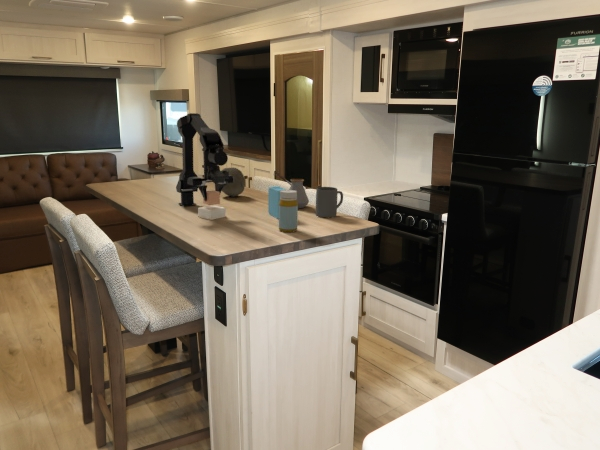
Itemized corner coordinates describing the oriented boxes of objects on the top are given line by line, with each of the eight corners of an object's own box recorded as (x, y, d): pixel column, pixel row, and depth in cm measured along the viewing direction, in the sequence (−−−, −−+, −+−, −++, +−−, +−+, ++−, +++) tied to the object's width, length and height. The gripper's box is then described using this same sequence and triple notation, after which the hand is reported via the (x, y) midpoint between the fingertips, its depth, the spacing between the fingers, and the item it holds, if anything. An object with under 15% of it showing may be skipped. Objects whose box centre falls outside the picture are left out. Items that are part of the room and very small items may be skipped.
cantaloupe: (242, 193, 252) (241, 165, 248) (247, 198, 239) (247, 168, 235) (215, 194, 248) (214, 166, 244) (219, 199, 235) (219, 169, 231)
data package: (288, 218, 197) (288, 190, 194) (278, 219, 195) (278, 190, 192) (277, 212, 208) (278, 185, 205) (268, 213, 206) (268, 186, 203)
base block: (198, 217, 197) (197, 207, 196) (213, 214, 203) (212, 205, 202) (210, 220, 192) (210, 210, 191) (225, 217, 198) (225, 207, 197)
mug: (324, 219, 198) (325, 190, 195) (311, 215, 205) (312, 187, 202) (348, 215, 205) (350, 188, 203) (335, 211, 213) (336, 185, 210)
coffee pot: (313, 207, 221) (314, 175, 218) (296, 210, 213) (297, 177, 210) (283, 200, 236) (283, 170, 232) (265, 203, 228) (265, 172, 224)
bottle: (278, 228, 181) (278, 189, 178) (296, 228, 182) (297, 189, 178) (279, 232, 174) (279, 192, 171) (297, 232, 175) (298, 192, 171)
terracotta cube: (203, 203, 197) (203, 191, 196) (214, 201, 200) (214, 190, 199) (209, 205, 193) (208, 193, 192) (219, 203, 196) (219, 192, 195)
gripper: (198, 166, 181) (199, 206, 184) (240, 163, 192) (240, 201, 196) (186, 163, 189) (187, 201, 193) (227, 161, 200) (227, 197, 204)
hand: (211, 200), depth 196 cm, fingers closed on terracotta cube, 5 cm apart
